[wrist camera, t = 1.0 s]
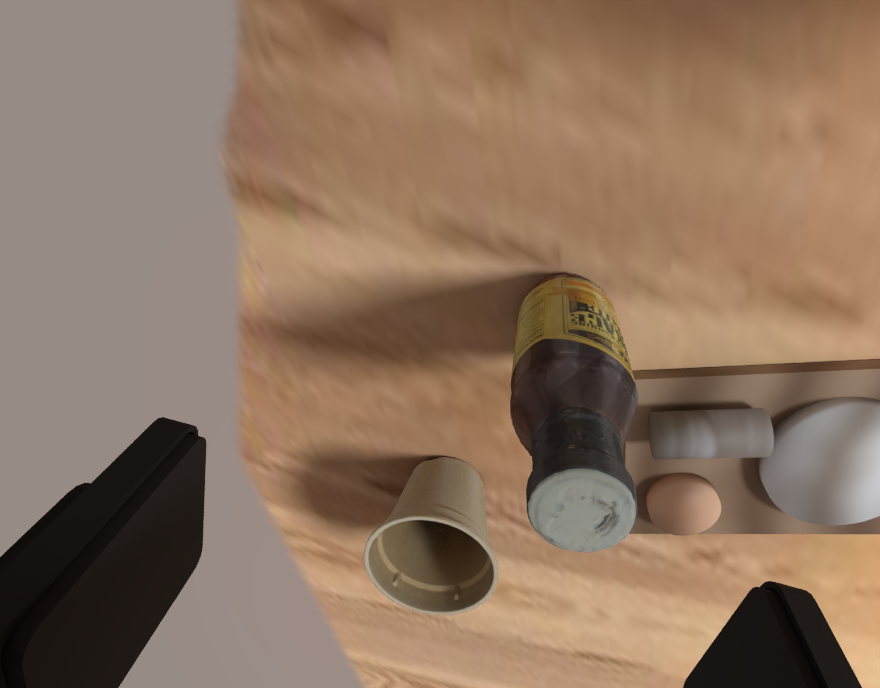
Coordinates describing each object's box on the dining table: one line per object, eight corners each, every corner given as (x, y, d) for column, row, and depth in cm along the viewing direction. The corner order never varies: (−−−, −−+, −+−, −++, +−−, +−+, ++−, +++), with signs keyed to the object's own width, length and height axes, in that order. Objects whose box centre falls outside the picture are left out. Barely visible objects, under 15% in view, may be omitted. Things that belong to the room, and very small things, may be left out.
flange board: (950, 355, 36) (1000, 392, 32) (902, 522, 42) (940, 569, 38) (623, 371, 40) (633, 405, 36) (622, 522, 46) (631, 565, 42)
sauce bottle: (629, 322, 38) (715, 548, 21) (550, 367, 41) (567, 605, 23) (576, 245, 36) (620, 422, 19) (496, 297, 39) (470, 498, 21)
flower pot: (392, 523, 50) (367, 608, 42) (386, 434, 45) (357, 511, 38) (501, 533, 48) (496, 623, 41) (505, 443, 44) (500, 524, 36)
